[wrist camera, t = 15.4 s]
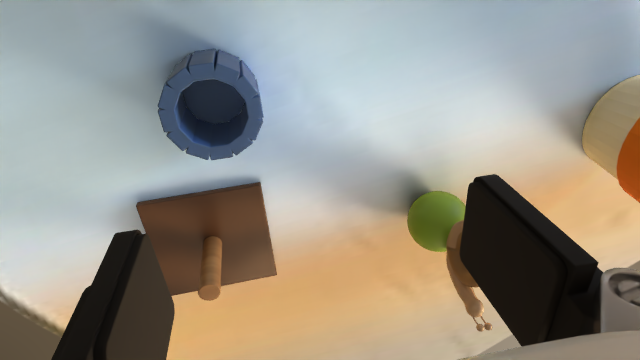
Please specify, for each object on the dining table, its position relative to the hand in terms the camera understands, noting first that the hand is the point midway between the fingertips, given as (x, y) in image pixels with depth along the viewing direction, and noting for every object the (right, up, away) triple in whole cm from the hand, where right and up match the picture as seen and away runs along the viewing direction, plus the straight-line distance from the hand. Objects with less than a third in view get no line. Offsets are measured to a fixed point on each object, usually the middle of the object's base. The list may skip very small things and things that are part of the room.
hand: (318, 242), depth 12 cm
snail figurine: (+10, -1, +27) cm, 29 cm away
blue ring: (-8, +8, +18) cm, 21 cm away
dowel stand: (-10, -3, +24) cm, 26 cm away
